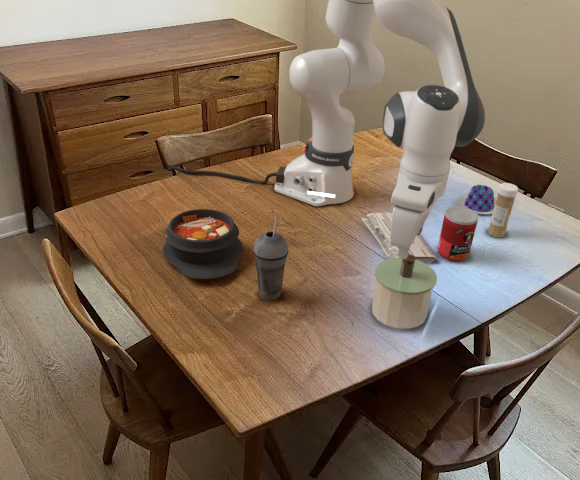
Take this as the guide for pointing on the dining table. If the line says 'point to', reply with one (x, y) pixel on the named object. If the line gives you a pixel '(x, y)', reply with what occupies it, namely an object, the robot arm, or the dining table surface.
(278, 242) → the beverage cup
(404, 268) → the lid
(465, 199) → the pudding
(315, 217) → the dining table surface
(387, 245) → the newspaper
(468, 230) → the canned food
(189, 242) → the casserole
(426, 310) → the jar
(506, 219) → the sprinkles bottle
